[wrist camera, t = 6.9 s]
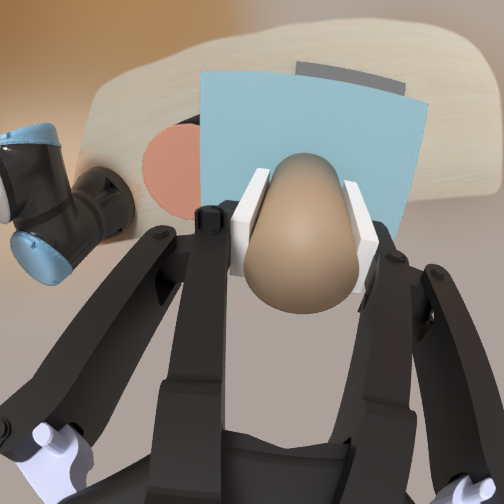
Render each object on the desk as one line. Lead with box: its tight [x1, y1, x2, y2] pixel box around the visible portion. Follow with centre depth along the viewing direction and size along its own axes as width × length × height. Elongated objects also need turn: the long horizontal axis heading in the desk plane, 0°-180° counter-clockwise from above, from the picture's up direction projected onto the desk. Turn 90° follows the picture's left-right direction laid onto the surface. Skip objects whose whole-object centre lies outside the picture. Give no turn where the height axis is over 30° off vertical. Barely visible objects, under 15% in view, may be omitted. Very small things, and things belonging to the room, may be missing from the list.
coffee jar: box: [142, 114, 201, 220], centre depth 36 cm, size 11×11×18 cm
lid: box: [200, 71, 429, 314], centre depth 15 cm, size 14×14×10 cm
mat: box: [295, 61, 406, 96], centre depth 38 cm, size 16×16×1 cm
